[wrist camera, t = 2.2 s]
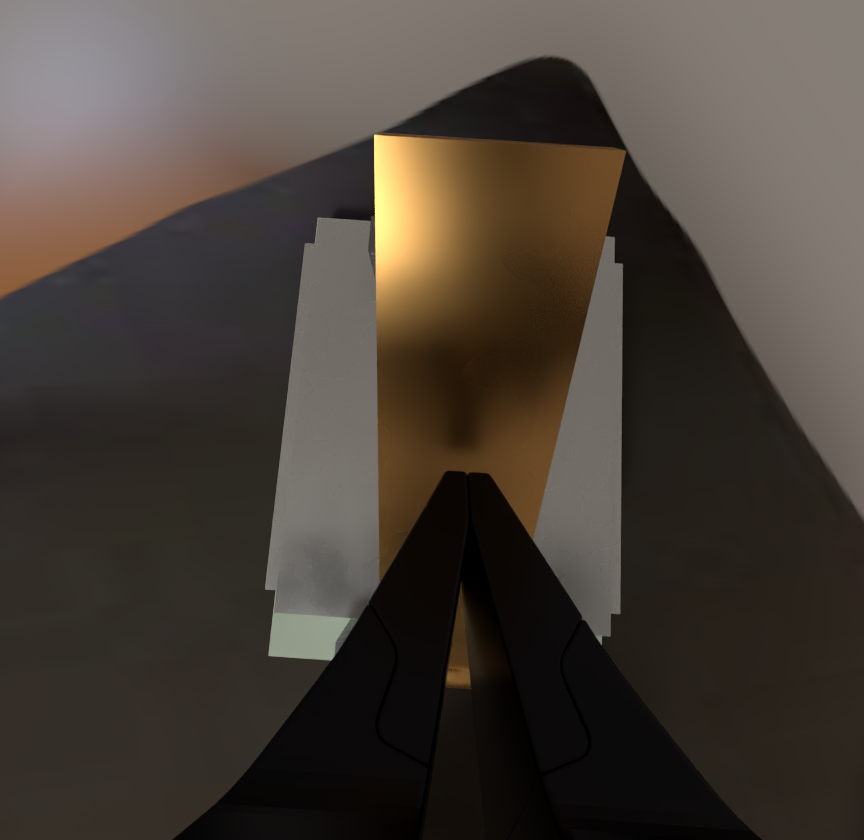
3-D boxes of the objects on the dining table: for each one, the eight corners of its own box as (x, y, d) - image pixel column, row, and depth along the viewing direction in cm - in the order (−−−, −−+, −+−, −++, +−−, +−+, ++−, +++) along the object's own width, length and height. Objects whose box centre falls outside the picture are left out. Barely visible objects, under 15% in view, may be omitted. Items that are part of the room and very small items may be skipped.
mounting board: (589, 666, 22) (601, 679, 20) (279, 644, 22) (268, 655, 20) (596, 251, 25) (607, 236, 23) (324, 234, 25) (317, 217, 23)
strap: (494, 661, 16) (497, 699, 15) (384, 653, 16) (379, 690, 15) (608, 146, 8) (631, 151, 7) (383, 131, 8) (371, 135, 7)
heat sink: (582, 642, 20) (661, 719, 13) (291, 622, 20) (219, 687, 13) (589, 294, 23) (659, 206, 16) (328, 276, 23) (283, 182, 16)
